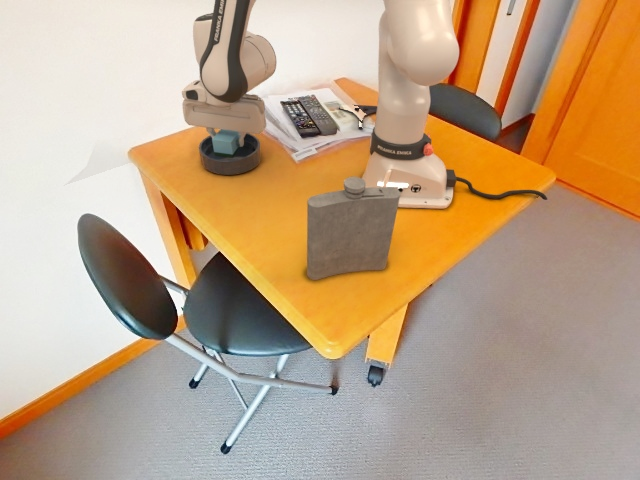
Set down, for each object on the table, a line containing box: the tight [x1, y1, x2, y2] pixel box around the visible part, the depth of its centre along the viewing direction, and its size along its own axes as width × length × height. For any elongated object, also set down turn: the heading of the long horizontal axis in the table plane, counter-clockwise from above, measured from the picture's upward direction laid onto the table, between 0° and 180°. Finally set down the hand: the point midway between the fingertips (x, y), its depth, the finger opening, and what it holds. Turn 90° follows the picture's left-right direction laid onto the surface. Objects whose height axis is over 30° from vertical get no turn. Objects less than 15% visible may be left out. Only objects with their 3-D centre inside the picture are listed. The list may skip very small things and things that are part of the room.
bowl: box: [198, 133, 262, 176], centre depth 104 cm, size 16×16×4 cm
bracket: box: [353, 104, 377, 130], centre depth 124 cm, size 14×15×3 cm
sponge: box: [212, 129, 241, 158], centre depth 102 cm, size 8×5×4 cm, turn 168°
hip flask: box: [306, 176, 400, 281], centre depth 71 cm, size 16×4×20 cm, turn 103°
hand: (228, 143), depth 102 cm, fingers closed on sponge, 5 cm apart
